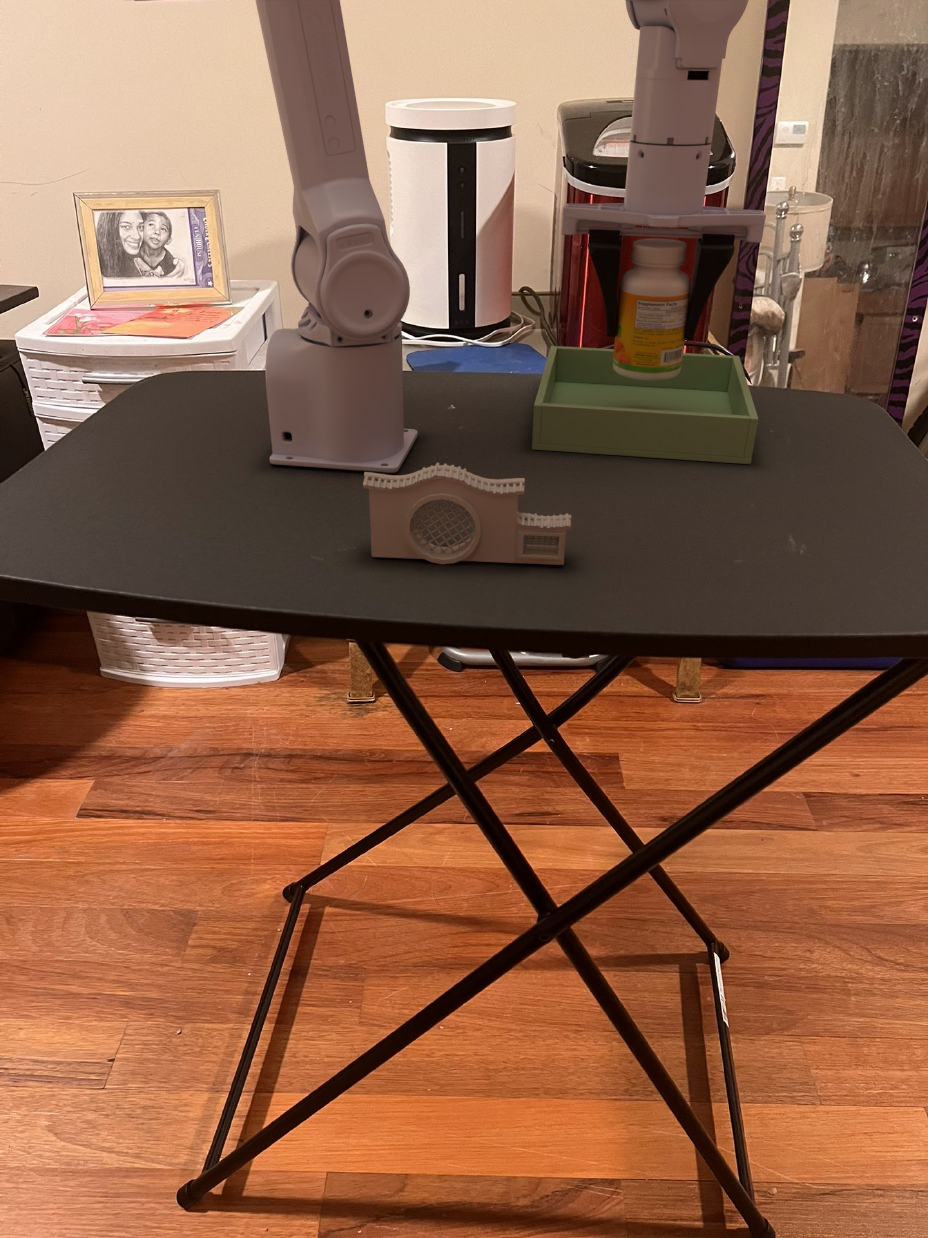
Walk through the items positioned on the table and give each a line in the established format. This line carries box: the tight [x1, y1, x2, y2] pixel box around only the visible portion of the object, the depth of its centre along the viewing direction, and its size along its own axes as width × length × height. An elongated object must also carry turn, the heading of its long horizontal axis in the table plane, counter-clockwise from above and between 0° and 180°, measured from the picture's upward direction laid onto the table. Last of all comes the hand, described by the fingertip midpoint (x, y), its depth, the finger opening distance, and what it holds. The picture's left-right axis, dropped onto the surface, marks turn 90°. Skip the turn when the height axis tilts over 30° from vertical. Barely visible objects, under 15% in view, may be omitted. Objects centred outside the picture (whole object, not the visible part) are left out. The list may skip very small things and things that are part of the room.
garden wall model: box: [362, 462, 572, 566], centre depth 57 cm, size 12×2×6 cm, turn 86°
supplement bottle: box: [613, 238, 692, 380], centre depth 75 cm, size 5×5×10 cm
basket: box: [531, 345, 760, 465], centre depth 79 cm, size 16×16×4 cm
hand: (649, 335), depth 76 cm, fingers closed on supplement bottle, 5 cm apart
